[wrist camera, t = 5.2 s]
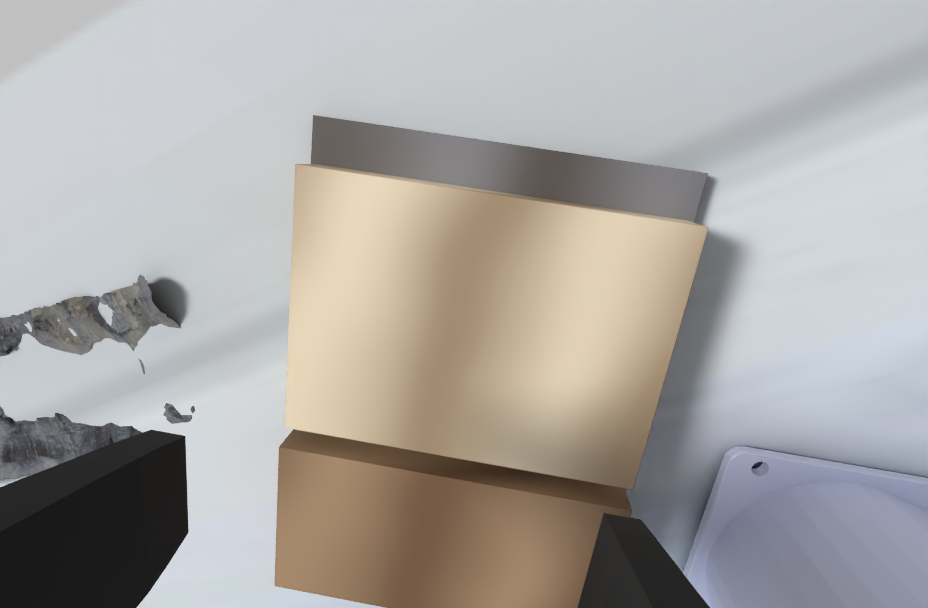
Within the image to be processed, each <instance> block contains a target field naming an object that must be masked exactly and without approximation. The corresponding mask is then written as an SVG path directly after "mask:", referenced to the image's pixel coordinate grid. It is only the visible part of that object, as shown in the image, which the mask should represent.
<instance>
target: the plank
mask: <svg viewBox="0 0 928 608" xmlns="http://www.w3.org/2000/svg"><path fill="white" fill-rule="evenodd" d="M707 231H708V227H706V226H703V225H700V224H697V223H694V222H691V221H687V220H681V219H674V218H668V217H661V216H655V215H648V214H641V213H635V212H628V211H622V210H615V209H609V208H602V207H595V206H589V205H582V204H576V203H569V202H563V201H556V200H549V199H543V198H536V197H530V196H523V195H517V194H510V193H503V192H497V191H490V190H484V189H477V188H471V187H464V186H457V185H451V184H444V183H438V182H431V181H425V180H418V179H411V178H405V177H398V176H392V175H385V174H379V173H372V172H365V171H359V170H352V169H346V168H339V167H333V166H326V165H319V164H295V187H294V212H293V236H292V261H291V286H290V311H289V335H288V360H287V385H286V409H285V428H290V429H295V430H301V431H307V432H312V433H318V434H323V435H329V436H335V437H340V438H346V439H352V440H357V441H363V442H368V443H374V444H380V445H385V446H391V447H396V448H402V449H408V450H413V451H419V452H424V453H430V454H436V455H441V456H447V457H452V458H458V459H464V460H469V461H475V462H480V463H486V464H492V465H497V466H503V467H509V468H514V469H520V470H525V471H531V472H537V473H542V474H548V475H553V476H559V477H565V478H570V479H576V480H581V481H587V482H593V483H598V484H604V485H609V486H615V487H621V488H626V489H632V490H633V487H634V484H635V480H636V477H637V473H638V470H639V467H640V463H641V460H642V456H643V453H644V449H645V446H646V442H647V439H648V435H649V432H650V428H651V425H652V421H653V418H654V414H655V411H656V408H657V404H658V401H659V397H660V394H661V390H662V387H663V383H664V380H665V376H666V373H667V369H668V366H669V362H670V359H671V355H672V352H673V349H674V345H675V342H676V338H677V335H678V331H679V328H680V324H681V321H682V317H683V314H684V310H685V307H686V303H687V300H688V296H689V293H690V290H691V286H692V283H693V279H694V276H695V272H696V269H697V265H698V262H699V258H700V255H701V251H702V248H703V244H704V241H705V237H706V234H707Z"/></svg>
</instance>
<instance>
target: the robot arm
mask: <svg viewBox="0 0 928 608" xmlns="http://www.w3.org/2000/svg"><path fill="white" fill-rule="evenodd" d="M757 462H763V463H762V465H761V466H760V467H758V468H752V466H753V465H754V464H755V463H757ZM187 534H188V508H187V478H186V447H185V436H182V435H176V434H171V433H166V432H160V431H155V430H150V431H147V432H144V433H140V434H137V435H134V436H131V437H129V438H126V439H123V440H120V441H118V442H115V443H112V444H110V445H107V446H104V447H102V448H99V449H97V450H94V451H92V452H89V453H86V454H84V455H81V456H79V457H76V458H74V459H71V460H69V461H66V462H64V463H61V464H59V465H56V466H54V467H51V468H48V469H46V470H43V471H41V472H38V473H36V474H33V475H31V476H28V477H26V478H23V479H21V480H18V481H15V482H13V483H10V484H8V485H5V486H3V487H0V608H136V607H137V606H138V605H139V604H140V602H141V601H142V600H143V599H144V597H145V596H146V595H147V594H148V593H149V591H150V590H151V588H152V587H153V585H154V584H155V582H156V581H157V580H158V578H159V577H160V575H161V574H162V572H163V571H164V569H165V568H166V566H167V565H168V563H169V562H170V560H171V559H172V557H173V556H174V554H175V553H176V551H177V549H178V548H179V546H180V545H181V543H182V542H183V540H184V538H185V537H186V535H187ZM578 608H928V478H925V477H919V476H914V475H908V474H902V473H896V472H890V471H885V470H879V469H873V468H867V467H861V466H856V465H850V464H844V463H838V462H832V461H827V460H821V459H815V458H809V457H803V456H798V455H792V454H786V453H780V452H774V451H769V450H763V449H757V448H751V447H745V446H737V447H734V448H731V449H730V450H729V451H727V452H726V454H725V455H724V457H723V460H722V463H721V466H720V469H719V471H718V474H717V477H716V480H715V483H714V486H713V488H712V491H711V494H710V497H709V500H708V503H707V506H706V508H705V511H704V514H703V517H702V520H701V523H700V526H699V528H698V531H697V534H696V537H695V540H694V543H693V545H692V548H691V551H690V554H689V557H688V560H687V563H686V565H685V568H684V571H683V573H682V571H681V570H680V569H679V568H678V566H677V565H676V564H675V562H674V561H673V560H672V559H671V557H670V556H669V555H668V553H667V552H666V551H665V550H664V548H663V547H662V546H661V544H660V543H659V542H658V541H657V539H656V538H655V537H654V535H653V534H652V533H651V532H650V530H649V529H648V528H647V527H646V525H645V524H644V523H643V522H642V521H641V520H640V519H634V518H629V517H623V516H618V515H613V514H607V513H603V517H602V520H601V524H600V528H599V531H598V535H597V539H596V542H595V546H594V549H593V553H592V557H591V560H590V564H589V568H588V571H587V575H586V578H585V582H584V586H583V589H582V593H581V597H580V600H579V604H578Z"/></svg>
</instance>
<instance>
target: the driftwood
mask: <svg viewBox="0 0 928 608" xmlns="http://www.w3.org/2000/svg"><path fill="white" fill-rule="evenodd" d="M137 280H138V281H137V283H136V284H135V283H133V285H132V286H129V287H126V288H122V289H118V290H115V291H112V292H111V293H105V294H103V296H102V297H100V298H98V297H97V296H96V297H93V298H91V297H90V296H83V297H74V298H70V299H67V300H64V301H62V302H61V303H56V305H53V306H51V307H46V306H44V307H43V308H34V309H32V310H29V311H28V312H25V313H24V314H20V315H18V316H15V315H12V316H11V317H7V318H0V356H5V355H8V354H9V351H12V350H11V347H12V346H18V345H19V343H20V342H21V337H22V334H25V333H28V334H30V335H32V336H33V337H35V338H36V340H38V342H39V343H41V344H43V345H45V346H49V347H51V348H55V349H58V350H61V351H65V352H70V353H76V354H79V355H82V354H85V353H87V352H89V351H90V350H91V349H92V348H93V344H94V343H96V342H100V341H102V340H103V339H104V338H111V339H113V340H115V341H117V342H125V343H127V344H128V345H129V346H130V347H131V348H132V350H133V351H134V348H135V347H136V346H137V345H138V343H137V341H139V340H140V339H141V338H142V337H143V336H144V335H145V334H146V332H147V330H148V329H149V328H150V326H155V325H158V324H159V323H161V324H163V325H166V326H168V327H175V328H180V327H179V325H178V323H176V322H175V321H174V320H172V319H170V318H168V317H167V315H166V314H165V313H163V312H160V311H159V309H158V308H157V307H156V306H155V305H154V303H153V302H152V298H151V294H152V291H151V290H150V288H149V286H148V284H147V280H145V278H144V277H143V276H142V275H140V276H139V277H138V279H137ZM99 302H101V303H102V304H105V305H106V304H107V305H108V306H109V307H110V308H111V309H112V310H113V311H114V312H113V316H112V325H111V326H112V327H111V326H110V325H109V324H107V323H106V322H105V321H104V319H103V318H102V317H101V315H100V314H99V312H98V305H99ZM57 319H59V320H60V321H57ZM27 321H28V322H29V323H30V325H31V326H32V332H29V330H28V328H27V327H26V326H25V325H24V324H26V323H27ZM68 328H71V329H73V330H74V332H75V333H76V334H77V336H73V335H72V333H71V332H70V331H69V329H68ZM114 328H115V329H114ZM139 361H140V363H141V367H142V370H143V373H144V374H145V371H144V366H143V363H142V361H141V360H140V359H139ZM164 408H165V409H166V411H165V413H164V414H163V415H164V416H166V417H167V420H168V421H169V422H170V423H172V424H173V423H180V422H189V421H191V419H192V415H182V416H181V415H180V413H179V412H178V411H177V410H176V409H175V408H174V407H173V405H171V404H167V403H166V405H165V407H164ZM190 410H191V412H192V413H193V412H194V411H195V408H194V406H192V407H191V409H190ZM140 433H142V432H139V431H138V430H136V429H134V428H133V427H132V426H123V427H120V426H118V425H115V424H113V423H108V424H106V425H104V426H90V425H87V424H81V423H78V424H77V423H73V422H71V421H70V420H69V419H68V418H67V417H66V416H64V415H62V414H59V413H55V417H52V418H49V417H43V418H37V420H36V422H35V421H26V420H23V421H17V422H15V421H13V420H12V419H11V418H10V417H7V416H6V415H5V414H4V411H3V409H2V408H1V407H0V479H3V478H19V477H20V475H33V474H36V473H38V472H41V471H43V470H46V469H48V468H51V467H54V466H56V465H59V464H61V463H64V462H66V461H69V460H71V459H74V458H76V457H79V456H81V455H84V454H86V453H89V452H92V451H94V450H97V449H99V448H102V447H104V446H107V445H110V444H112V443H115V442H118V441H120V440H123V439H126V438H129V437H131V436H134V435H137V434H140Z"/></svg>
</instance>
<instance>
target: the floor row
mask: <svg viewBox="0 0 928 608" xmlns="http://www.w3.org/2000/svg"><path fill="white" fill-rule="evenodd" d="M311 164H319V165H326V166H333V167H339V168H346V169H352V170H359V171H365V172H372V173H379V174H385V175H392V176H398V177H405V178H411V179H418V180H425V181H431V182H438V183H444V184H451V185H457V186H464V187H471V188H477V189H484V190H490V191H497V192H503V193H510V194H517V195H523V196H530V197H536V198H543V199H549V200H556V201H563V202H569V203H576V204H582V205H589V206H595V207H602V208H609V209H615V210H622V211H628V212H635V213H641V214H648V215H655V216H661V217H668V218H674V219H681V220H687V221H691V222H694V220H695V217H696V213H697V210H698V206H699V203H700V199H701V196H702V192H703V189H704V185H705V181H706V178H707V174H708V173H701V172H695V171H688V170H681V169H674V168H667V167H661V166H654V165H647V164H640V163H634V162H627V161H620V160H613V159H606V158H600V157H593V156H586V155H579V154H573V153H566V152H559V151H552V150H545V149H539V148H532V147H525V146H518V145H511V144H505V143H498V142H491V141H484V140H478V139H471V138H464V137H457V136H450V135H444V134H437V133H430V132H423V131H417V130H410V129H403V128H396V127H389V126H383V125H376V124H369V123H362V122H356V121H349V120H342V119H335V118H328V117H322V116H315V115H313V131H312V153H311ZM603 513H607V514H613V515H618V516H623V517H629V518H630V517H631V513H632V509H631V506H630V503H629V500H628V497H627V495H626V492H625V489H624V488H621V487H615V486H609V485H604V484H598V483H593V482H587V481H581V480H576V479H570V478H565V477H559V476H553V475H548V474H542V473H537V472H531V471H525V470H520V469H514V468H509V467H503V466H497V465H492V464H486V463H480V462H475V461H469V460H464V459H458V458H452V457H447V456H441V455H436V454H430V453H424V452H419V451H413V450H408V449H402V448H396V447H391V446H385V445H380V444H374V443H368V442H363V441H357V440H352V439H346V438H340V437H335V436H329V435H323V434H318V433H312V432H307V431H301V430H295V429H293V431H292V432H291V433H290V434H289V436H288V437H287V438H286V439H285V441H284V442H283V443H282V444H281V446H280V447H279V468H278V498H277V529H276V560H275V586H278V587H283V588H288V589H293V590H298V591H303V592H309V593H314V594H319V595H324V596H329V597H334V598H339V599H345V600H350V601H355V602H360V603H365V604H370V605H376V606H381V607H386V608H578V604H579V600H580V597H581V593H582V589H583V586H584V582H585V578H586V575H587V571H588V568H589V564H590V560H591V557H592V553H593V549H594V546H595V542H596V539H597V535H598V531H599V528H600V524H601V520H602V517H603Z"/></svg>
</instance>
